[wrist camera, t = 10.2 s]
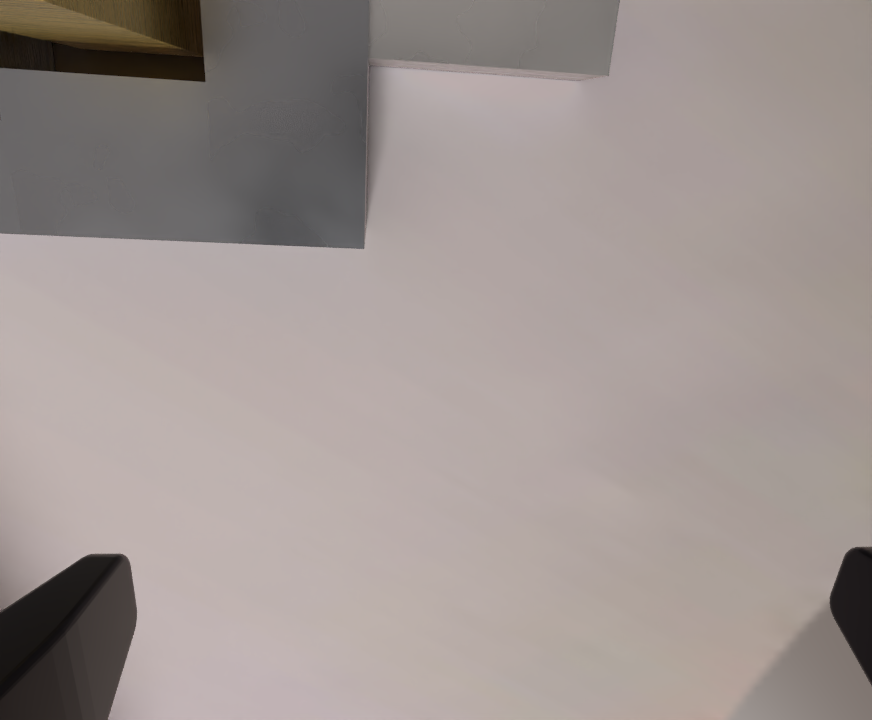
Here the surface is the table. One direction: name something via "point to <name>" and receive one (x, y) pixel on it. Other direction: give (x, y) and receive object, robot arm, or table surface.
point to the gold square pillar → (109, 24)
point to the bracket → (256, 116)
